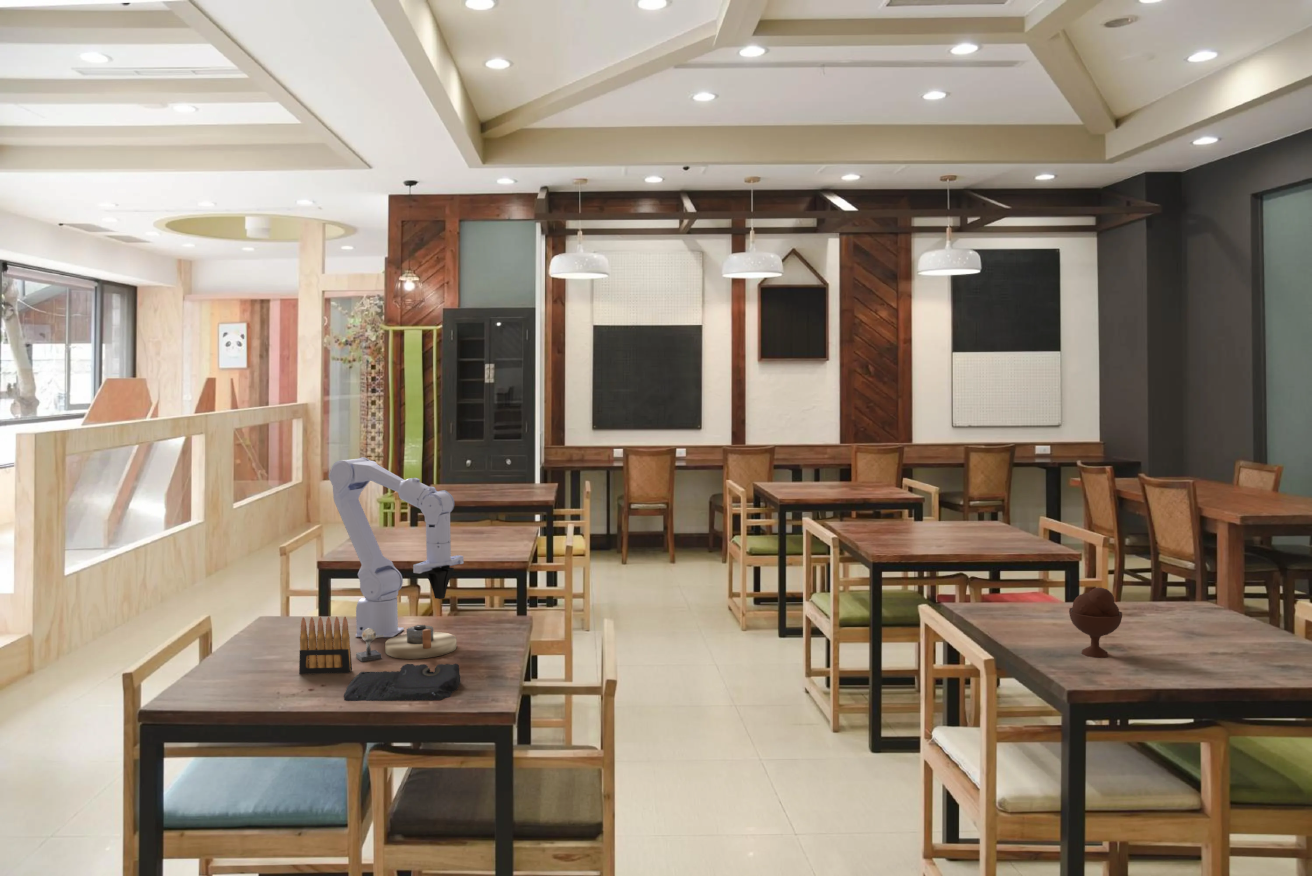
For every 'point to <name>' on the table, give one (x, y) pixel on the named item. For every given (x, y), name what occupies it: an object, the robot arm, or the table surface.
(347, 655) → the ammunition clip
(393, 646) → the turntable
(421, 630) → the iron cover
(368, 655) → the grey and clear piece
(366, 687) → the black folded garment
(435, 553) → the robot arm
